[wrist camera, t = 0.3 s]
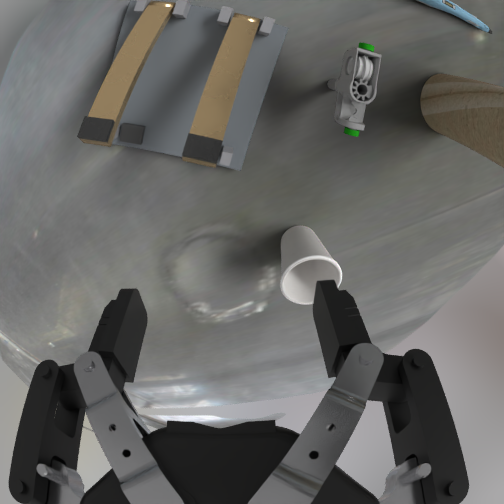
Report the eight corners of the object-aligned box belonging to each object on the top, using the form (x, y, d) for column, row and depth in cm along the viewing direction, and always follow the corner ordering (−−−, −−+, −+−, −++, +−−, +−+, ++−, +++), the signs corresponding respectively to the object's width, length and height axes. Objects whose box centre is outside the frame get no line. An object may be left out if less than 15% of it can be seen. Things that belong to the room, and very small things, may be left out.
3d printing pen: (410, -11, 20) (405, -26, 19) (398, -3, 23) (394, -17, 22) (498, 35, 21) (494, 21, 20) (486, 38, 24) (482, 25, 23)
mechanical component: (316, 118, 35) (341, 133, 26) (327, 46, 29) (357, 40, 21) (337, 122, 35) (367, 139, 27) (348, 52, 29) (383, 48, 21)
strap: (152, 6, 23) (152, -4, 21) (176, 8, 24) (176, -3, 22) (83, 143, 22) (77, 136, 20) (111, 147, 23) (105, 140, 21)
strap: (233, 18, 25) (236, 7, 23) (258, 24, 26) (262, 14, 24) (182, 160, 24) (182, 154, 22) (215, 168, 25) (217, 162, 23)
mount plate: (134, 2, 23) (122, -5, 20) (286, 29, 27) (293, 24, 24) (102, 139, 34) (88, 147, 30) (240, 167, 38) (240, 178, 35)
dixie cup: (268, 260, 47) (275, 304, 39) (276, 215, 43) (286, 254, 35) (317, 263, 48) (332, 305, 40) (329, 220, 44) (350, 258, 35)
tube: (409, 95, 32) (550, 152, 12) (447, 62, 28) (583, 98, 8) (439, 145, 36) (556, 227, 16) (473, 112, 32) (591, 174, 12)
